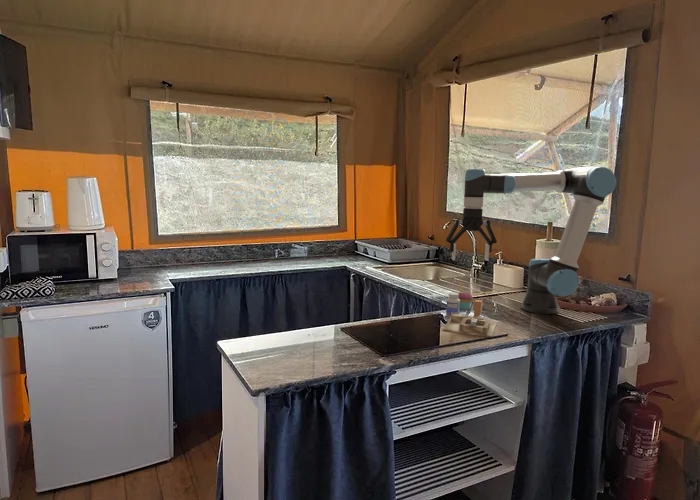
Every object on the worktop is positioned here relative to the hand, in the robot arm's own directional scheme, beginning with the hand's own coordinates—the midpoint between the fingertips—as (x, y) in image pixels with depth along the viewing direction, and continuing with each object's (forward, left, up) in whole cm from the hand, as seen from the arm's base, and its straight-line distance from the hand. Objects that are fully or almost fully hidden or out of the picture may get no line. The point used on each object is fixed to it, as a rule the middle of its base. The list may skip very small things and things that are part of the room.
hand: (470, 260), depth 196 cm
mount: (-3, +13, -24) cm, 28 cm away
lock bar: (-5, +15, -21) cm, 26 cm away
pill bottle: (+6, 0, -25) cm, 25 cm away
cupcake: (+4, -15, -25) cm, 29 cm away
